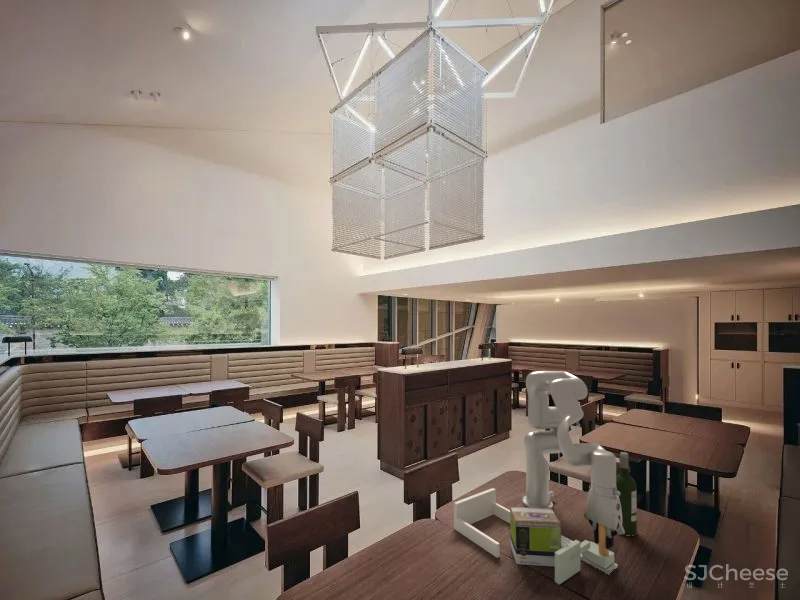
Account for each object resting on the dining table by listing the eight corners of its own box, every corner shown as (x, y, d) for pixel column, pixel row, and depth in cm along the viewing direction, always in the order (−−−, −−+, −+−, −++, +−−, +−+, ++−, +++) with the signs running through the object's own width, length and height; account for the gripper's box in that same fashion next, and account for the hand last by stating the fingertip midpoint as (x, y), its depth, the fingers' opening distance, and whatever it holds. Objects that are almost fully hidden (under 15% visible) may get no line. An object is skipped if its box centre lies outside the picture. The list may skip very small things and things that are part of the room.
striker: (590, 552, 134) (590, 512, 134) (614, 564, 127) (614, 522, 128) (550, 579, 120) (550, 534, 121) (574, 594, 114) (574, 546, 114)
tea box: (552, 550, 136) (552, 507, 137) (562, 568, 126) (562, 523, 127) (509, 546, 138) (509, 505, 138) (515, 565, 128) (515, 520, 128)
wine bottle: (640, 538, 144) (639, 457, 145) (617, 535, 145) (616, 456, 146) (632, 527, 151) (631, 450, 152) (610, 524, 153) (609, 448, 154)
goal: (492, 512, 162) (492, 488, 162) (536, 536, 144) (536, 509, 144) (453, 528, 149) (454, 502, 149) (497, 557, 131) (497, 528, 131)
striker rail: (517, 515, 159) (517, 512, 159) (617, 568, 127) (617, 564, 127) (508, 519, 156) (508, 516, 156) (608, 575, 123) (608, 571, 123)
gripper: (634, 495, 124) (635, 553, 123) (585, 477, 137) (585, 529, 136) (623, 502, 119) (624, 562, 119) (574, 482, 133) (574, 536, 132)
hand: (603, 544), depth 128 cm, fingers closed on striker, 3 cm apart
